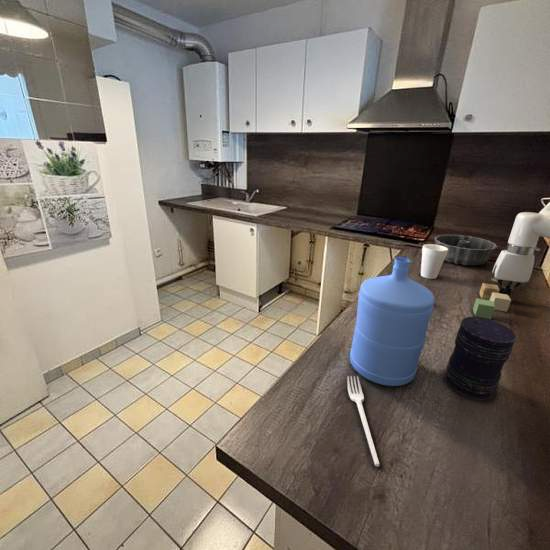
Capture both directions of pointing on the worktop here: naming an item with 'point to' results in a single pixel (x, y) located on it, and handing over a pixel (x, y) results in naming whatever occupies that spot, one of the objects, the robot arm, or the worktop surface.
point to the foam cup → (432, 260)
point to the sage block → (483, 308)
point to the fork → (362, 415)
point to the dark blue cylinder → (479, 357)
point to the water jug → (391, 326)
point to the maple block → (488, 290)
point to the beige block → (500, 301)
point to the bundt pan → (466, 249)
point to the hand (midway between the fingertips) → (503, 297)
